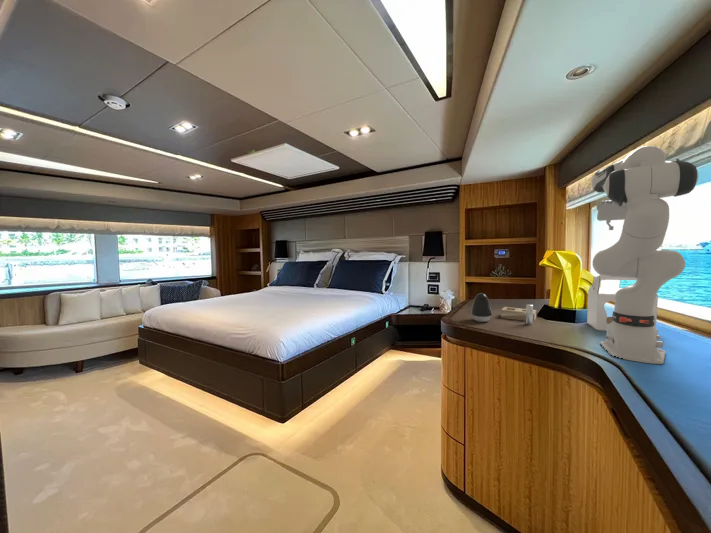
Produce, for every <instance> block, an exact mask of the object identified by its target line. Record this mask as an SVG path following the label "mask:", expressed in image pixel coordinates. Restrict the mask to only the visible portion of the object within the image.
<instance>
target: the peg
mask: <svg viewBox="0 0 711 533" xmlns="http://www.w3.org/2000/svg"><path fill="white" fill-rule="evenodd" d="M525 305H526V306H525V309H526V321H525V325H527V324H528V326H533V324H534V322H533V310H534V305H533V304H525Z"/></svg>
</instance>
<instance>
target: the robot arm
mask: <svg viewBox="0 0 711 533" xmlns="http://www.w3.org/2000/svg"><path fill="white" fill-rule="evenodd" d="M698 180H699V172H698V169H697V166H696V165H695V164H693V163H692V162H689V161H683V160H680V159H679V158H675V159H674V160H670V161H669V160H667V158H666V153H665V151H664V150H663V149H662V148H661V147H659V146H656V145H645V146H641V147H639V148H637V149H635V150H633V151H632V152H631V153H629V154H628V155H627V156H626V157H625V158H622V159H621V160H618V161H617V162H614V163H613V164H610V165H608V166H606V167H604V168H603V169H599V170H597V171H596V172H595V173H594V174H593V176H592V179H591V187H592V190H593V191H595V192H596V193H598V194H599V193H605V194H606V197H607V198H608V199H609V200H601V201H600V202H598V203H597V204H596V210H597V215H596V220H597V221H600V222H601V221H602V222H603V221H605V223H606V225H607V226H608V230H609V231H614V225H611V224H610V223H611V221H618V220H619V221H621V220H622V221H623V225H622V230H621V234H620V237H619V239H618V241H617V242H615V243H614V244H613V245H611V246H609V247H607V248H605V249H602V250H600V251H598V252H597V253H596V254H595V255H594V257H593V259H592V268H593V269H594V271H595V272H596V273H597V274H599V275H605V276H611V277H630V278H637V280H635V283H633V284H630V285H628V286H625V287H620V288H621V289H619V290H618V291H617V292H616V294H615V301H614V310H613V311H612V314H611V317H612V320H613V322H611V323H610V324H608V325H607V331H606V335H605V336H606V337H605V338H606V339H605V340H603V341H600V343H599V345H600V344H601V345H602V346H601V345H600V346H601V347H602V348H603V347H604V348H603V350H605V351H606V350H607V351H608V352H607V351H606V352H607V353H608V355H610V354H611V355H612V356H611V355H610V356H611V357H614V356H616V357H615V358H617V357H619V358H618V359H621V358H623V359H622V360H626V361H627V360H628V361H631V362H639V363H646V364H655V365H663V364H665V359H666V350H665V349H663V346H664V341H661V339H662V335H659V330H658V328H657V327H656V328H655V327H654V322H655V319H654V315H653V308H654V301H655V296H656V294H657V295H658V292H659V290H660V289H661V288H662V286H664V285H665V283H667V282H669V281H671V280H672V279H674V278H676V277H678V276H679V275H681V274H682V273H683V271H684V270H685V267H686V260H685V258H684V256H683V255H682V254H681V253H680V252H678V251H676V250H670V249H661V246H663V244H664V239H665V237H666V233H667V230H668V227H669V222H670V221H669V220H670V206H669V204H668V202H667V201H666V200H664V199H663V198H669V197H676V198H677V197H679V196H684V195H688V194H690V193H691V192H692V191H693V190H694V189H695V186H696V185H697V183H698Z"/></svg>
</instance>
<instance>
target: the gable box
mask: <svg viewBox="0 0 711 533" xmlns="http://www.w3.org/2000/svg"><path fill="white" fill-rule="evenodd" d="M605 280H607V281H609V280H611V281H614V280H615V281H637V278H630V277H611V276H605V275H600V274H599V275H597V276H593V280H592V283H591V285H590V287H589V288H588V291H587V292H588V293H587V315H586V317H587V318H586V320H587V321H586V323H587V324H588V325H589V326H591V327H592V328H593V329H595V330H596V331H605V332H607V325H608V324H610V323H611V322H613V320H612V316H608V314H607V311H606V309H605V304H606V303H608V302H615V294H616V292H617V291H618V290H619V289H621V288H622V287H602V286H601V282H602V281H605ZM658 300H659V296H658V293H657V294H656V296H655V301H654V308H653V315H654V319H655V322H654V327H655V328H656V329H657V319H658V318H657V316H658V302H659V301H658Z"/></svg>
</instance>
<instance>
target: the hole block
mask: <svg viewBox="0 0 711 533" xmlns="http://www.w3.org/2000/svg"><path fill="white" fill-rule="evenodd" d="M500 315H501V316H500V318H502V319H507V320H516V321H525V322H526V308H519V307H510V306H509V307H508V306H504V307H502V308H501V310H500ZM536 319H537V309H533V323H534V322H535V321H536Z"/></svg>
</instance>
